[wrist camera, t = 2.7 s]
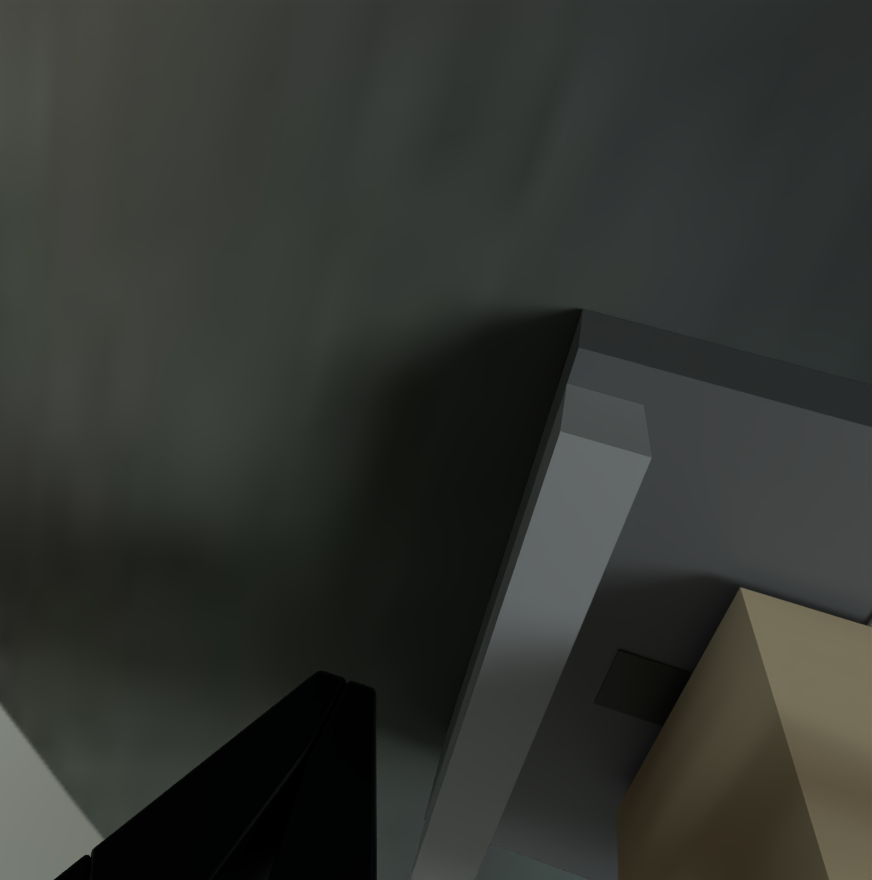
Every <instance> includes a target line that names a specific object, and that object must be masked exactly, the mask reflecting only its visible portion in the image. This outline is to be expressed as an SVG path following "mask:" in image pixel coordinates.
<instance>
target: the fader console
mask: <svg viewBox="0 0 872 880" xmlns="http://www.w3.org/2000/svg"><path fill="white" fill-rule="evenodd" d="M740 587H741V588H745V589H748V590H751V591H754V592H758V593H761V594H764V595H768V596H771V597H774V598H777V599H781V600H784V601H787V602H791V603H794V604H797V605H800V606H804V607H807V608H810V609H813V610H817V611H820V612H823V613H827V614H830V615H833V616H836V617H840V618H843V619H846V620H850V621H853V622H856V623H859V624H863V625H866V626H869V627H872V385H868V384H865V383H861V382H857V381H853V380H849V379H846V378H842V377H838V376H834V375H831V374H827V373H823V372H819V371H816V370H812V369H808V368H804V367H800V366H797V365H793V364H789V363H785V362H782V361H778V360H774V359H770V358H767V357H763V356H759V355H755V354H751V353H748V352H744V351H740V350H736V349H733V348H729V347H725V346H721V345H718V344H714V343H710V342H706V341H702V340H699V339H695V338H691V337H687V336H684V335H680V334H676V333H672V332H669V331H665V330H661V329H657V328H653V327H650V326H646V325H642V324H638V323H635V322H631V321H627V320H623V319H620V318H616V317H612V316H608V315H604V314H601V313H597V312H593V311H589V310H586V309H583V310H582V313H581V316H580V319H579V322H578V325H577V328H576V332H575V335H574V338H573V341H572V344H571V347H570V350H569V353H568V356H567V360H566V363H565V366H564V369H563V372H562V375H561V378H560V381H559V385H558V388H557V391H556V394H555V397H554V400H553V403H552V406H551V409H550V413H549V416H548V419H547V422H546V425H545V428H544V431H543V434H542V437H541V441H540V444H539V447H538V450H537V453H536V456H535V459H534V462H533V466H532V469H531V472H530V475H529V478H528V481H527V484H526V487H525V490H524V494H523V497H522V500H521V503H520V506H519V509H518V512H517V515H516V519H515V522H514V525H513V528H512V531H511V534H510V537H509V540H508V543H507V547H506V550H505V553H504V556H503V559H502V562H501V565H500V568H499V572H498V575H497V578H496V581H495V584H494V587H493V590H492V593H491V596H490V600H489V603H488V606H487V609H486V612H485V615H484V618H483V621H482V624H481V628H480V631H479V634H478V637H477V640H476V643H475V646H474V649H473V653H472V656H471V659H470V662H469V665H468V668H467V671H466V674H465V677H464V681H463V684H462V687H461V690H460V693H459V696H458V699H457V702H456V706H455V709H454V712H453V715H452V718H451V721H450V724H449V727H448V730H447V734H446V737H445V741H444V745H443V749H442V752H441V756H440V760H439V764H438V768H437V772H436V776H435V780H434V784H433V787H432V791H431V795H430V799H429V803H428V807H427V811H426V815H425V819H424V820H425V823H424V827H423V831H422V835H421V839H420V842H419V846H418V850H417V854H416V858H415V862H414V866H413V870H412V874H411V878H410V880H475V878H476V876H477V873H478V871H479V868H480V866H481V864H482V861H483V859H484V857H485V854H486V852H487V849H488V847H489V845H490V843H491V844H493V845H496V846H499V847H502V848H504V849H507V850H510V851H513V852H515V853H518V854H521V855H524V856H526V857H529V858H532V859H535V860H537V861H540V862H543V863H546V864H548V865H551V866H554V867H557V868H559V869H562V870H565V871H568V872H570V873H573V874H576V875H579V876H581V877H584V878H587V879H590V880H618V849H617V809H618V807H619V805H620V803H621V801H622V800H623V798H624V796H625V794H626V792H627V791H628V789H629V787H630V785H631V783H632V781H633V780H634V778H635V776H636V774H637V772H638V771H639V769H640V767H641V765H642V763H643V762H644V760H645V758H646V756H647V754H648V753H649V751H650V749H651V747H652V745H653V744H654V742H655V740H656V738H657V736H658V735H659V733H660V731H661V729H662V727H663V726H664V724H665V722H666V720H667V718H668V717H669V715H670V713H671V711H672V709H673V708H674V706H675V704H676V702H677V700H678V699H679V697H680V695H681V693H682V691H683V690H684V688H685V686H686V684H687V682H688V681H689V679H690V677H691V675H692V673H693V672H694V670H695V668H696V666H697V664H698V663H699V661H700V659H701V657H702V655H703V654H704V652H705V650H706V648H707V646H708V645H709V643H710V641H711V639H712V637H713V635H714V634H715V632H716V630H717V628H718V626H719V625H720V623H721V621H722V619H723V617H724V616H725V614H726V612H727V610H728V608H729V607H730V605H731V603H732V601H733V599H734V598H735V596H736V594H737V592H738V590H739V589H740Z"/></svg>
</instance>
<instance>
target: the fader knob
mask: <svg viewBox="0 0 872 880" xmlns="http://www.w3.org/2000/svg"><path fill="white" fill-rule="evenodd" d="M617 849H618V880H872V627H869V626H866V625H863V624H859V623H856V622H853V621H850V620H846V619H843V618H840V617H836V616H833V615H830V614H827V613H823V612H820V611H817V610H813V609H810V608H807V607H804V606H800V605H797V604H794V603H791V602H787V601H784V600H781V599H777V598H774V597H771V596H768V595H764V594H761V593H758V592H754V591H751V590H748V589H745V588H741V587H740V589H739V590H738V592H737V594H736V596H735V598H734V599H733V601H732V603H731V605H730V607H729V608H728V610H727V612H726V614H725V616H724V617H723V619H722V621H721V623H720V625H719V626H718V628H717V630H716V632H715V634H714V635H713V637H712V639H711V641H710V643H709V645H708V646H707V648H706V650H705V652H704V654H703V655H702V657H701V659H700V661H699V663H698V664H697V666H696V668H695V670H694V672H693V673H692V675H691V677H690V679H689V681H688V682H687V684H686V686H685V688H684V690H683V691H682V693H681V695H680V697H679V699H678V700H677V702H676V704H675V706H674V708H673V709H672V711H671V713H670V715H669V717H668V718H667V720H666V722H665V724H664V726H663V727H662V729H661V731H660V733H659V735H658V736H657V738H656V740H655V742H654V744H653V745H652V747H651V749H650V751H649V753H648V754H647V756H646V758H645V760H644V762H643V763H642V765H641V767H640V769H639V771H638V772H637V774H636V776H635V778H634V780H633V781H632V783H631V785H630V787H629V789H628V791H627V792H626V794H625V796H624V798H623V800H622V801H621V803H620V805H619V807H618V809H617Z"/></svg>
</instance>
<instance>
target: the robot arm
mask: <svg viewBox="0 0 872 880" xmlns="http://www.w3.org/2000/svg"><path fill="white" fill-rule="evenodd" d="M54 880H377V804H376V692H375V690H374V688H372V687H369V686H366V685H363V684H360V683H357V682H354V681H349V682H348V683H347V684H346V680H345V679H344V678H343V677H340V676H337V675H334V674H331V673H328V672H325V671H318V672H316V673H314V674H313V675H312V676H311V677H309V678H308V679H307V680H305V681H304V682H303V683H302V684H300V685H299V686H298V687H297V688H295V689H294V690H293V691H292V692H290V693H289V694H288V695H287V696H285V697H284V698H283V699H282V700H280V701H279V702H278V703H276V704H275V705H274V706H273V707H271V708H270V709H269V710H268V711H266V712H265V713H264V714H263V715H261V716H260V717H259V718H258V719H256V720H255V721H254V722H253V723H251V724H250V725H249V726H247V727H246V728H245V729H244V730H242V731H241V732H240V733H239V734H237V735H236V736H235V737H234V738H232V739H231V740H230V741H229V742H227V743H226V744H225V745H223V746H222V747H221V748H220V749H218V750H217V751H216V752H215V753H213V754H212V755H211V756H210V757H208V758H207V759H206V760H205V761H203V762H202V763H201V764H200V765H198V766H197V767H196V768H194V769H193V770H192V771H191V772H189V773H188V774H187V775H186V776H184V777H183V778H182V779H181V780H179V781H178V782H177V783H176V784H174V785H173V786H172V787H171V788H169V789H168V790H167V791H165V792H164V793H163V794H162V795H160V796H159V797H158V798H157V799H155V800H154V801H153V802H152V803H150V804H149V805H148V806H147V807H145V808H144V809H143V810H142V811H140V812H139V813H138V814H136V815H135V816H134V817H133V818H131V819H130V820H129V821H128V822H126V823H125V824H124V825H123V826H121V827H120V828H119V829H118V830H116V831H115V832H114V833H113V834H111V835H110V836H109V837H107V838H106V839H105V840H104V841H102V842H101V843H100V844H99V845H97V846H96V847H95V848H94V849H93V850H92V852H91V858H90V856H89V855H85V856H83V857H82V858H80V859H79V860H78V861H77V862H75V863H74V864H73V865H72V866H71V867H69V868H68V869H67V870H65V871H64V872H63V873H62V874H61V875H59V876H58V877H57V878H56V879H54Z"/></svg>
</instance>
